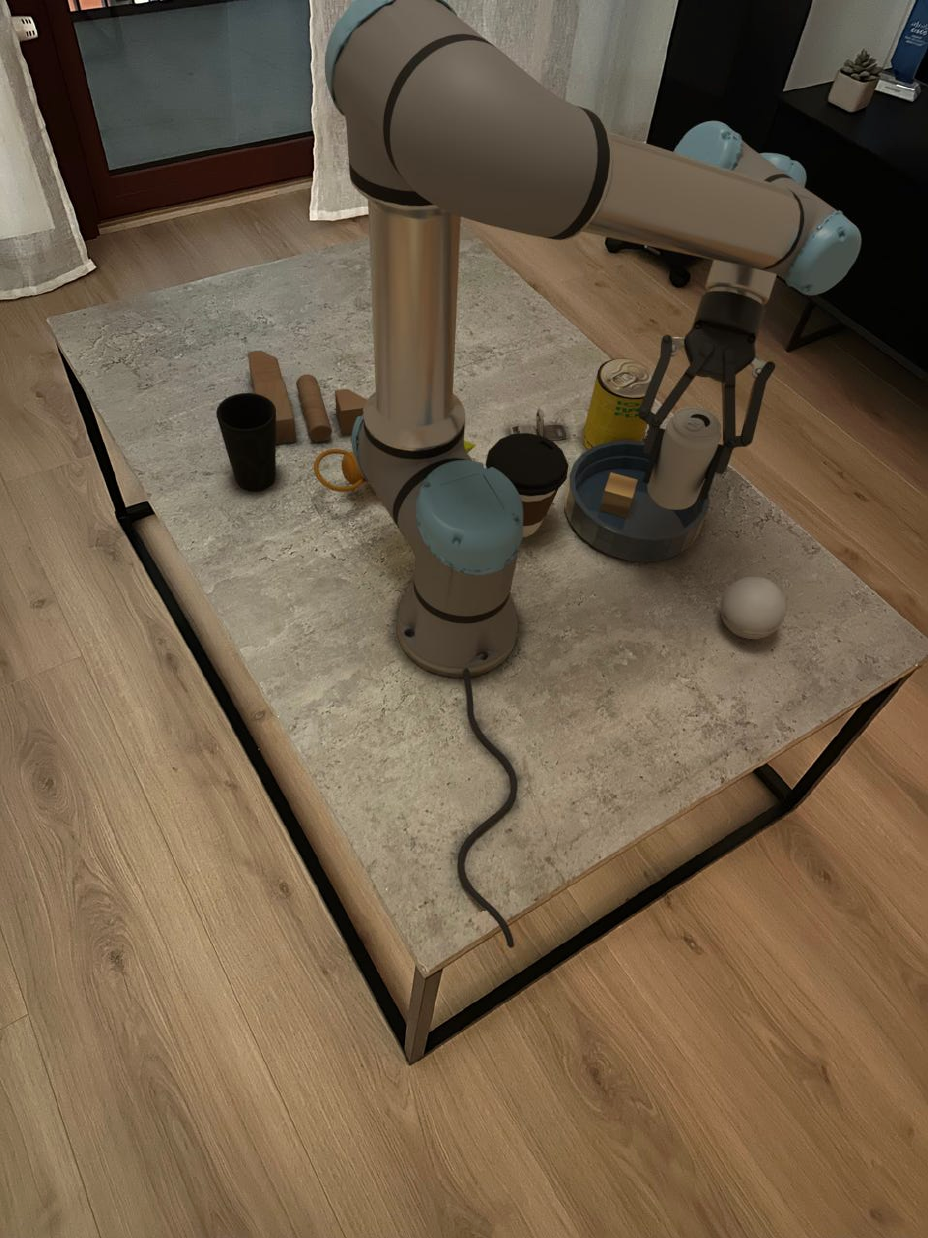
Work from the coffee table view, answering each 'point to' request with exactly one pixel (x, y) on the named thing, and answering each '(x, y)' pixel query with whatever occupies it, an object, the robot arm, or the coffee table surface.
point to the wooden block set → (302, 401)
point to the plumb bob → (353, 468)
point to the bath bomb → (753, 607)
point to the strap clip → (540, 428)
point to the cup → (249, 439)
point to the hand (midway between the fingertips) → (674, 490)
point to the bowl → (646, 523)
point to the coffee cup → (530, 473)
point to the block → (618, 495)
